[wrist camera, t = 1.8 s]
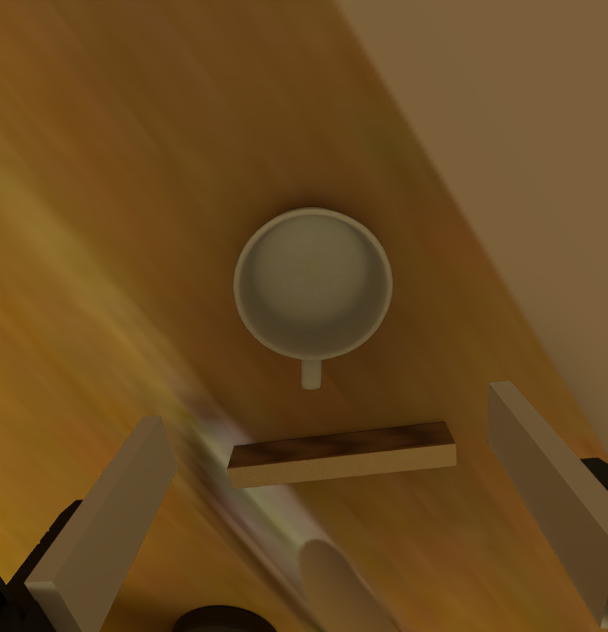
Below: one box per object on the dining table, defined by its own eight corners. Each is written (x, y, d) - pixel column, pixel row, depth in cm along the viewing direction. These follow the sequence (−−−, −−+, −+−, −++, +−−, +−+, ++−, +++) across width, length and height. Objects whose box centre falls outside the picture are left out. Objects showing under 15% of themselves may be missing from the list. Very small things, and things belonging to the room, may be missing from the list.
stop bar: (239, 465, 41) (233, 489, 38) (234, 446, 40) (226, 468, 37) (445, 442, 39) (456, 465, 35) (444, 421, 38) (455, 443, 35)
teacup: (262, 188, 30) (243, 193, 23) (391, 215, 31) (415, 228, 23) (239, 340, 35) (218, 385, 28) (351, 362, 36) (360, 411, 28)
